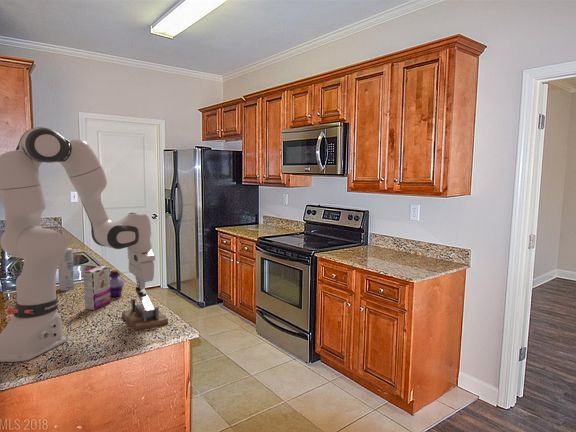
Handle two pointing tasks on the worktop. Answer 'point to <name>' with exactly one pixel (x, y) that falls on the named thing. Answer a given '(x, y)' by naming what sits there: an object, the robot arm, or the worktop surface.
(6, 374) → the worktop surface
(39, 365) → the worktop surface
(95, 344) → the worktop surface
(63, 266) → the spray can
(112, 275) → the potion bottle
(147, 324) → the walnut base plate
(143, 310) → the block
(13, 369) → the worktop surface
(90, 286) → the candy bar box
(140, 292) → the clamp bar
